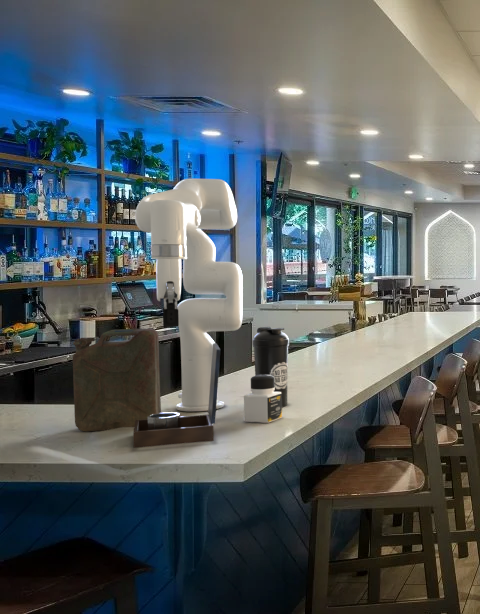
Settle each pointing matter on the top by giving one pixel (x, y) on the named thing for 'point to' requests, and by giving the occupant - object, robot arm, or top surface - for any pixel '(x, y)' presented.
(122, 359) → the canister
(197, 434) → the brown tray
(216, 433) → the top surface
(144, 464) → the top surface
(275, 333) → the water bottle
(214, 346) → the lid
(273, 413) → the medicine bottle
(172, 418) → the grey octagonal hollow piece
